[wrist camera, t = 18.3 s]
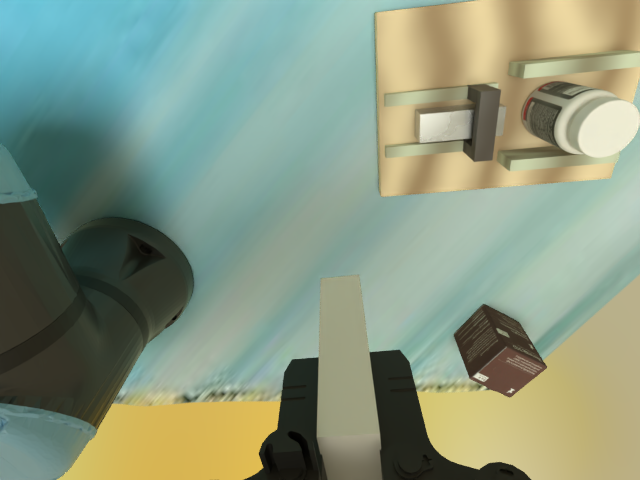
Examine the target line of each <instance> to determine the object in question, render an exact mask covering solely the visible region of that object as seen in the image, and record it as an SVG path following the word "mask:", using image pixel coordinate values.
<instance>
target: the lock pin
mask: <svg viewBox="0 0 640 480" xmlns="http://www.w3.org/2000/svg"><path fill="white" fill-rule="evenodd" d="M475 105H476V103H475V104H465V105H455V106H445V107H434V108H424V109H415V135H414V136H415V138H416V139H417V140H418V142H419V143H426V142H437V141H448V140H459V139H470V138H472V137H473V126H474V115H475ZM505 114H506V106H505V105H502V104H500V103H499V111H498V120H497V128H496V136H503V129H504V121H505Z"/></svg>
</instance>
